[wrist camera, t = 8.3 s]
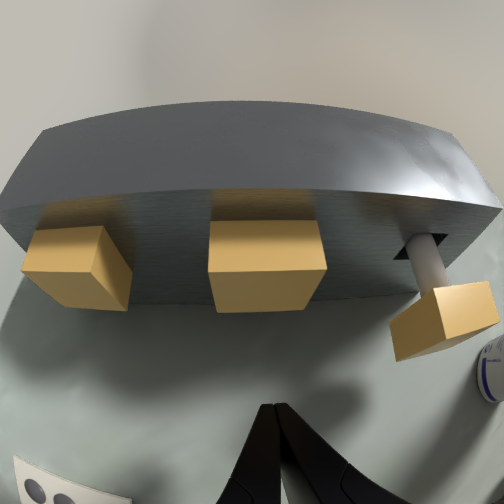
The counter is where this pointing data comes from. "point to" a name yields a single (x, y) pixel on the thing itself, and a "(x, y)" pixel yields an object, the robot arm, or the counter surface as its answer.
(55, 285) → the left button
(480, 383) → the energy drink
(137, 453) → the counter surface
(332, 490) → the robot arm
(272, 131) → the console
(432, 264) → the right button
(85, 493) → the card
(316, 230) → the middle button
